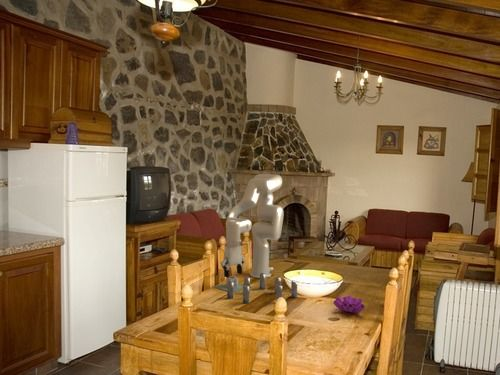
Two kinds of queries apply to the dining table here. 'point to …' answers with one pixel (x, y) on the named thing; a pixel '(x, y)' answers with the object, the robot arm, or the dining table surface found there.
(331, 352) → the dining table surface
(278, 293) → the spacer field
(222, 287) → the rubber mat
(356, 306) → the purple knobbly lump
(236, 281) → the hex nut
